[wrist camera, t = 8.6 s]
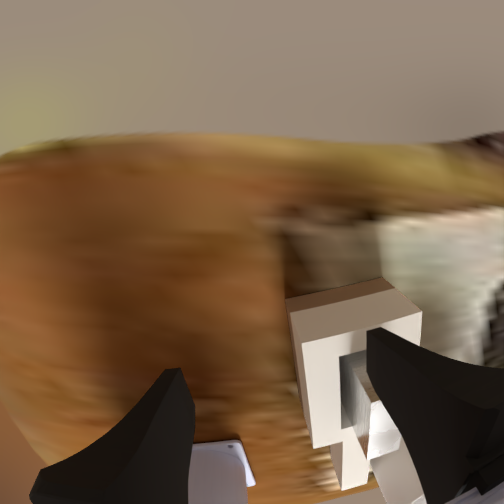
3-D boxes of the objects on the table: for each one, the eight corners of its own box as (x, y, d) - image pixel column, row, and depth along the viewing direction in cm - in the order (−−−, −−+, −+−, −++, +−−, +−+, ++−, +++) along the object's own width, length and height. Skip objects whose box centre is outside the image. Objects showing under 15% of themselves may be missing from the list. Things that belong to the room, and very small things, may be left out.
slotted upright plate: (307, 462, 26) (318, 505, 21) (284, 299, 21) (301, 343, 16) (375, 443, 26) (393, 482, 21) (382, 277, 21) (422, 311, 16)
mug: (469, 371, 25) (527, 433, 15) (450, 425, 27) (491, 485, 17) (364, 405, 24) (408, 495, 14) (355, 458, 27) (384, 535, 17)
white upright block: (335, 388, 21) (366, 460, 14) (331, 331, 20) (371, 403, 13) (361, 381, 21) (398, 449, 14) (361, 323, 20) (409, 389, 13)
